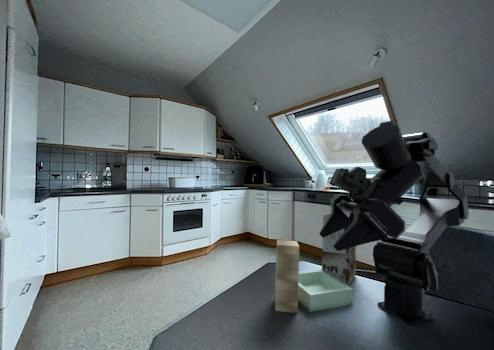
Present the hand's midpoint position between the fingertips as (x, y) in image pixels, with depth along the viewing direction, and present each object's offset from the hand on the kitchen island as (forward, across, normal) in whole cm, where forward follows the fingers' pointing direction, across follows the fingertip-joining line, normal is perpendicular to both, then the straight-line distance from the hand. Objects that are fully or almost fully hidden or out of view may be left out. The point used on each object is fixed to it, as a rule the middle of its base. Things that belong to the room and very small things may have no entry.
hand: (327, 241), depth 42 cm
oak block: (+14, 0, +4) cm, 15 cm away
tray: (+9, -6, +9) cm, 14 cm away
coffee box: (+4, -16, +15) cm, 22 cm away
